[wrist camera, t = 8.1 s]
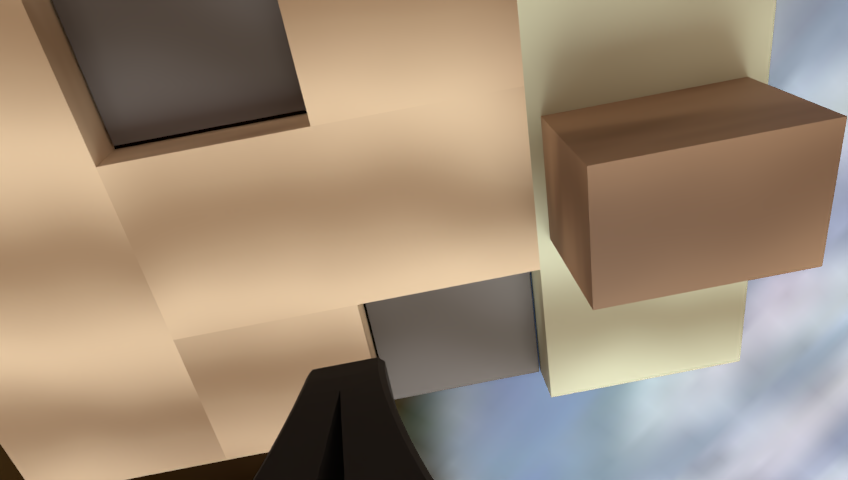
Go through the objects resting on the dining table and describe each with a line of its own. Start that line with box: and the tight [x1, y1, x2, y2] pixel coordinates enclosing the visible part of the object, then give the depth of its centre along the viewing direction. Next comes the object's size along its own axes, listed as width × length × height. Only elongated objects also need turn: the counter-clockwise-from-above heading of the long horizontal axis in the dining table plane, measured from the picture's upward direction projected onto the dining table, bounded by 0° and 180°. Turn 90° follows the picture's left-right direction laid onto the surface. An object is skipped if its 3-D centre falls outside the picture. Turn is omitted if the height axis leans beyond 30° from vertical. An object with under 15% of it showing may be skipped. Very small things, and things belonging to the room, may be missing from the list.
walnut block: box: [541, 77, 847, 310], centre depth 17 cm, size 4×6×4 cm, turn 99°
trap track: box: [0, 0, 776, 480], centre depth 19 cm, size 17×26×2 cm, turn 99°
